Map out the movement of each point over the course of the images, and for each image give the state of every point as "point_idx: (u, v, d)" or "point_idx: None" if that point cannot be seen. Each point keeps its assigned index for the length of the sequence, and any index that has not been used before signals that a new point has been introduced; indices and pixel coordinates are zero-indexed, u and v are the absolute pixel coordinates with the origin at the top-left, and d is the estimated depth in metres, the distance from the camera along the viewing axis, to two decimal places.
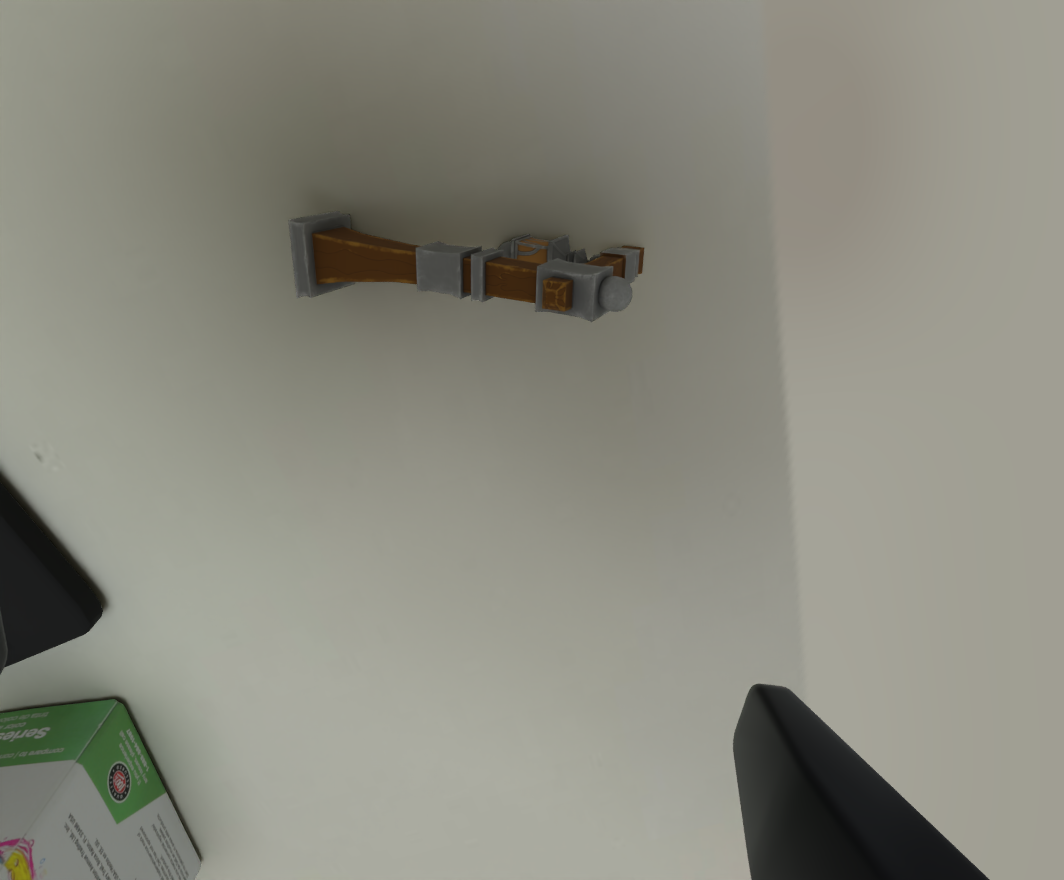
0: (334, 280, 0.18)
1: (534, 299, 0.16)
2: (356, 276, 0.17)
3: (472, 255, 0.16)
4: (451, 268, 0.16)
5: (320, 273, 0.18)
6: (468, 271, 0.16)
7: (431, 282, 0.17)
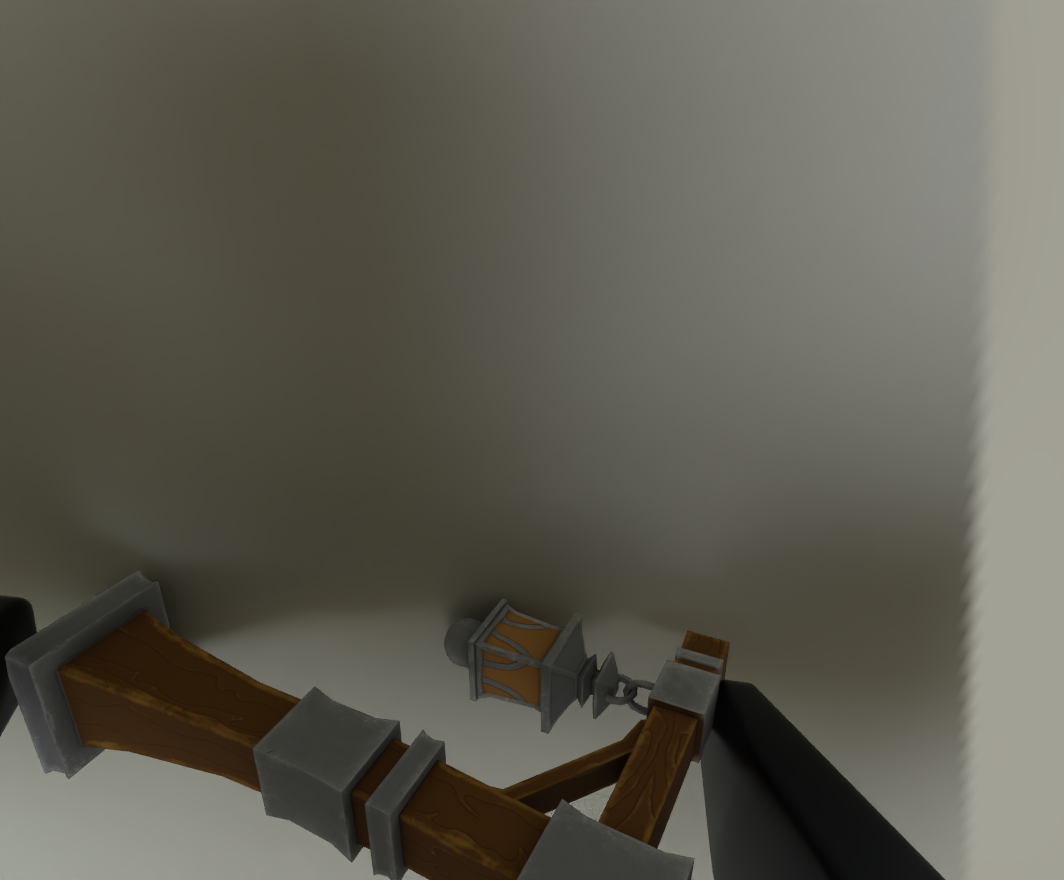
0: (115, 745, 0.09)
1: None
2: (152, 752, 0.08)
3: (368, 800, 0.07)
4: (328, 806, 0.07)
5: (85, 731, 0.09)
6: (364, 816, 0.07)
7: (292, 810, 0.08)
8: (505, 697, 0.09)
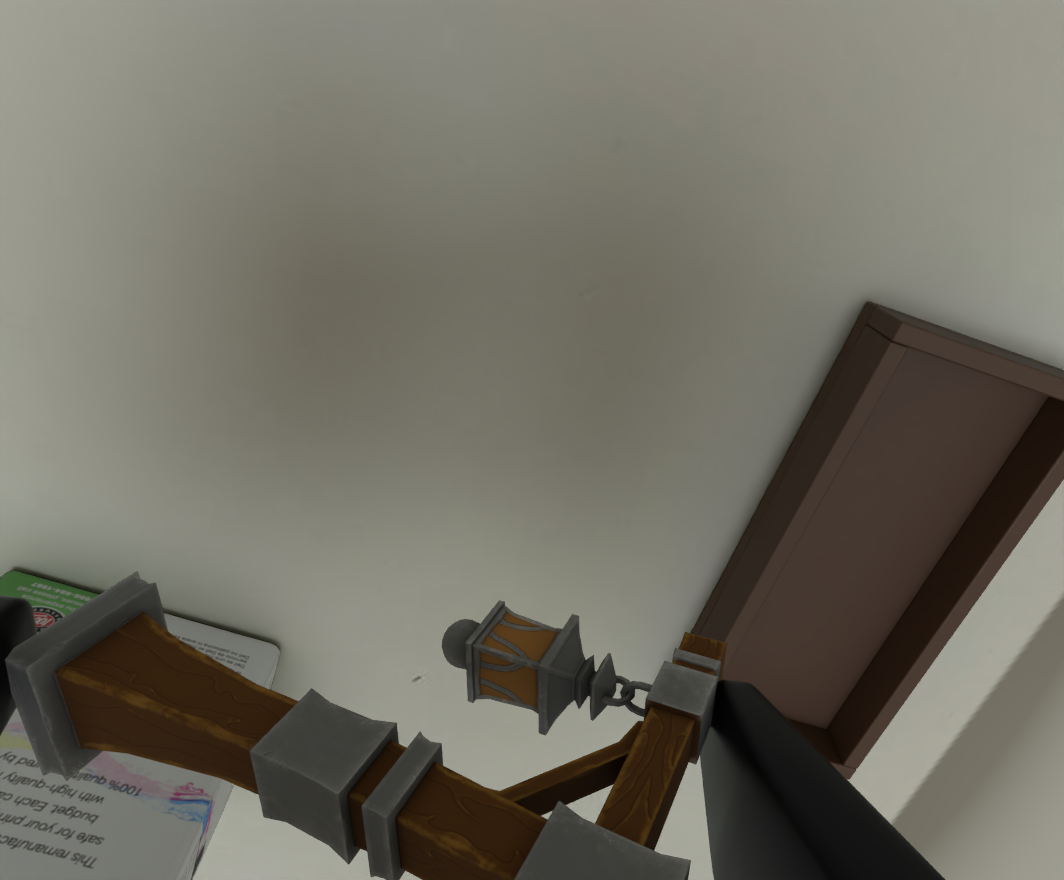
0: (112, 747, 0.09)
1: None
2: (149, 754, 0.09)
3: (365, 803, 0.07)
4: (324, 808, 0.07)
5: (83, 734, 0.09)
6: (361, 818, 0.07)
7: (289, 812, 0.08)
8: (502, 698, 0.09)
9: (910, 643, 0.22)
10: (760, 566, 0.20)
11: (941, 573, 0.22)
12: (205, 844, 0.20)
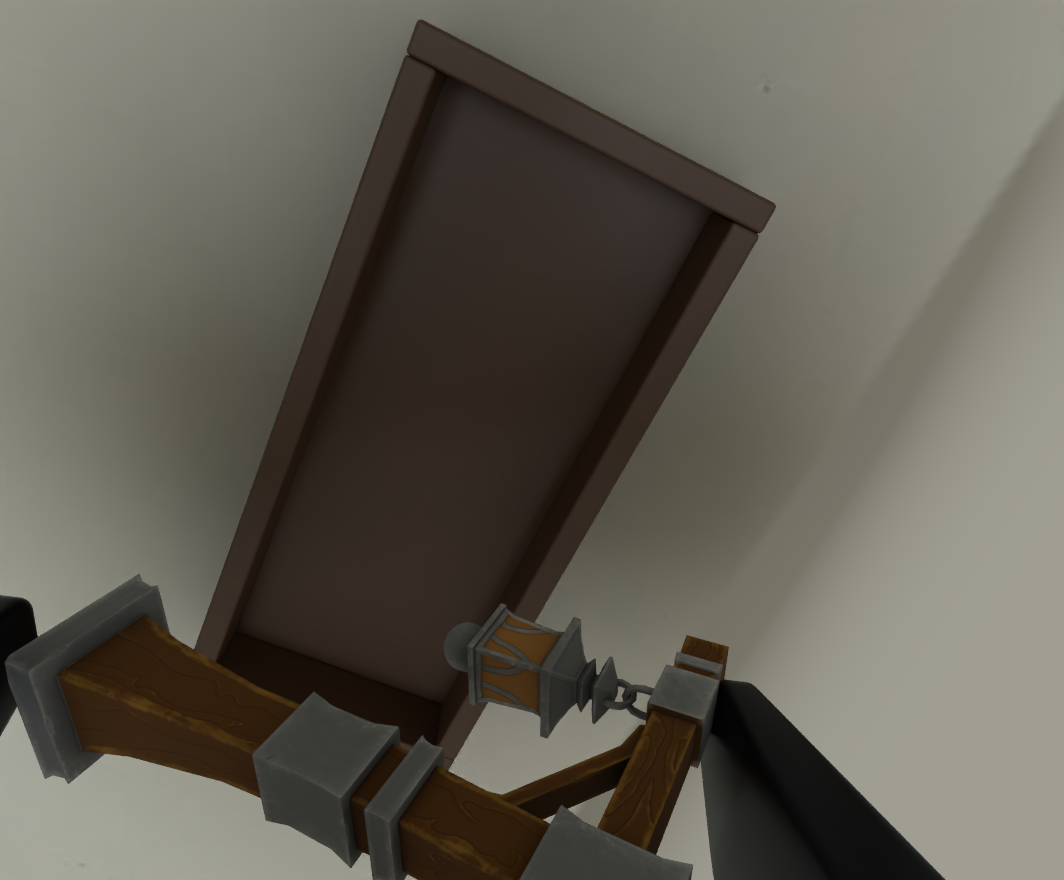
0: (114, 750, 0.09)
1: None
2: (151, 757, 0.09)
3: (368, 807, 0.07)
4: (327, 812, 0.07)
5: (85, 736, 0.09)
6: (364, 822, 0.07)
7: (291, 815, 0.08)
8: (504, 701, 0.09)
9: (520, 584, 0.15)
10: None
11: (567, 485, 0.15)
12: None
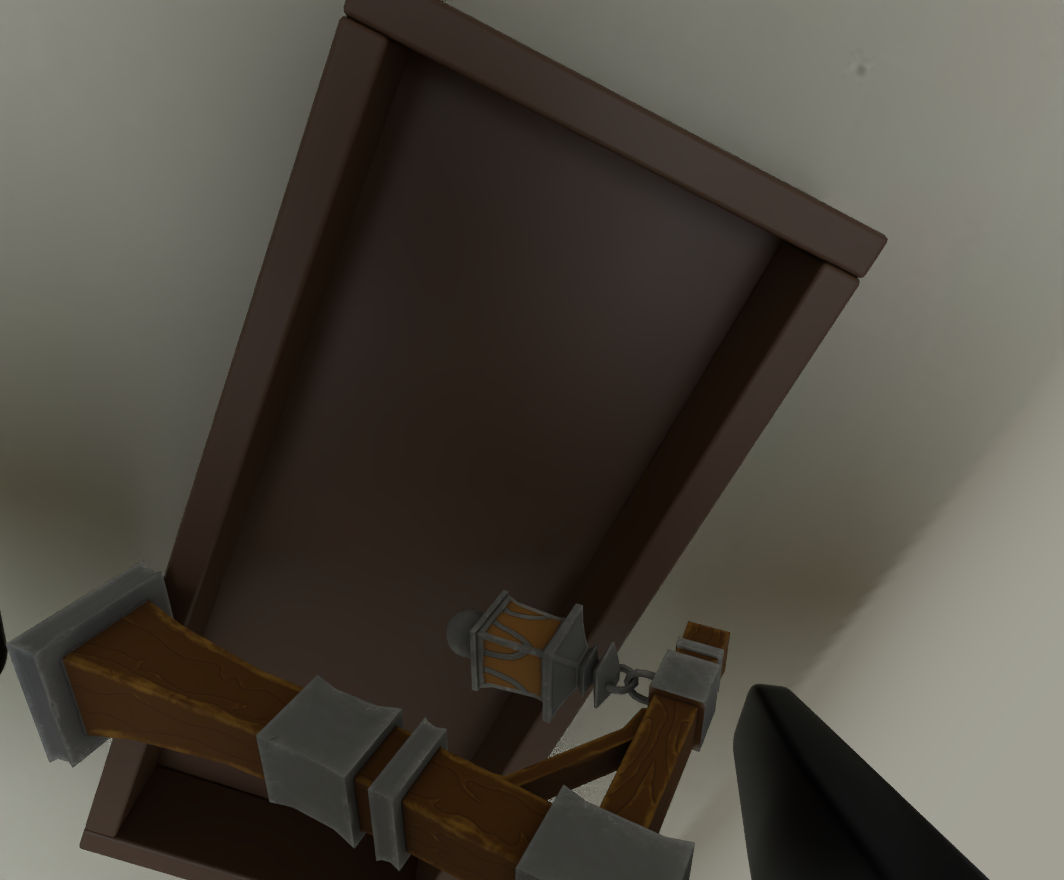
0: (119, 733, 0.09)
1: None
2: (155, 740, 0.09)
3: (372, 786, 0.07)
4: (331, 792, 0.07)
5: (89, 720, 0.09)
6: (367, 802, 0.07)
7: (295, 796, 0.08)
8: (506, 686, 0.09)
9: (517, 722, 0.12)
10: None
11: (578, 597, 0.11)
12: None
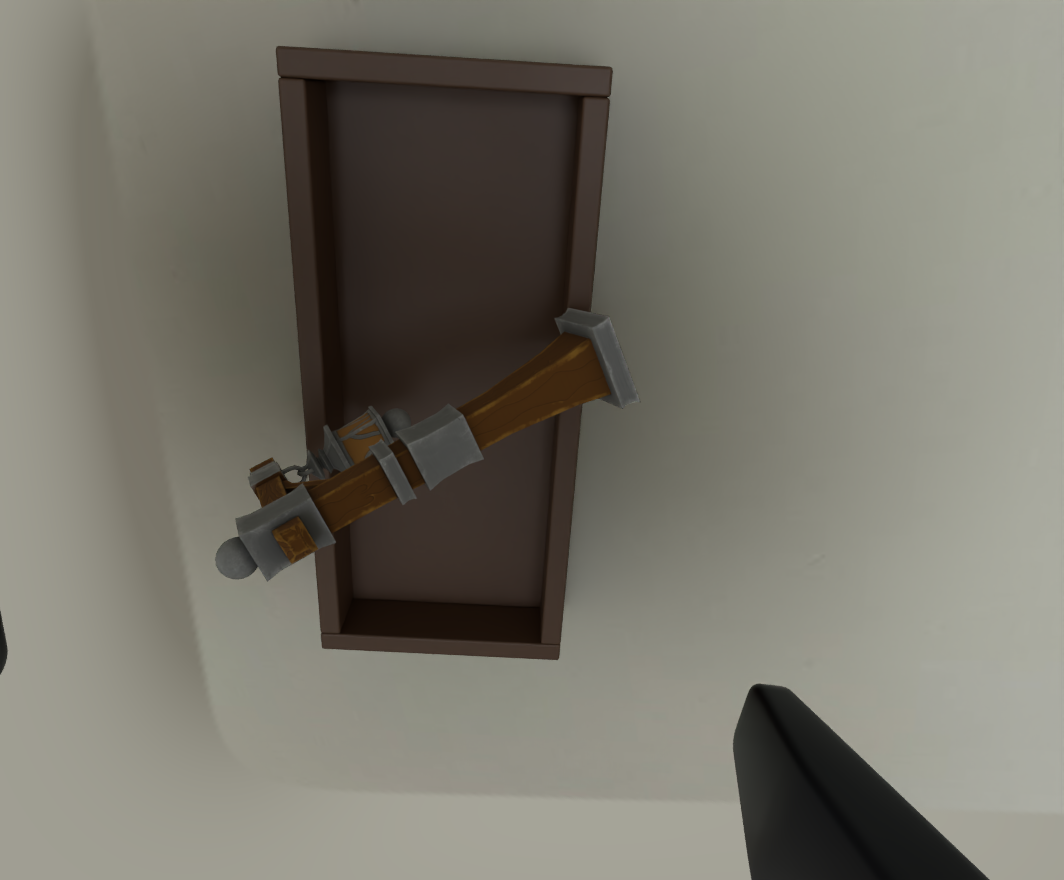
0: (569, 355, 0.14)
1: (320, 501, 0.13)
2: (543, 378, 0.14)
3: (415, 496, 0.13)
4: (432, 467, 0.13)
5: (589, 354, 0.14)
6: (412, 474, 0.13)
7: (450, 434, 0.13)
8: (362, 430, 0.15)
9: (327, 315, 0.16)
10: None
11: (338, 401, 0.17)
12: None
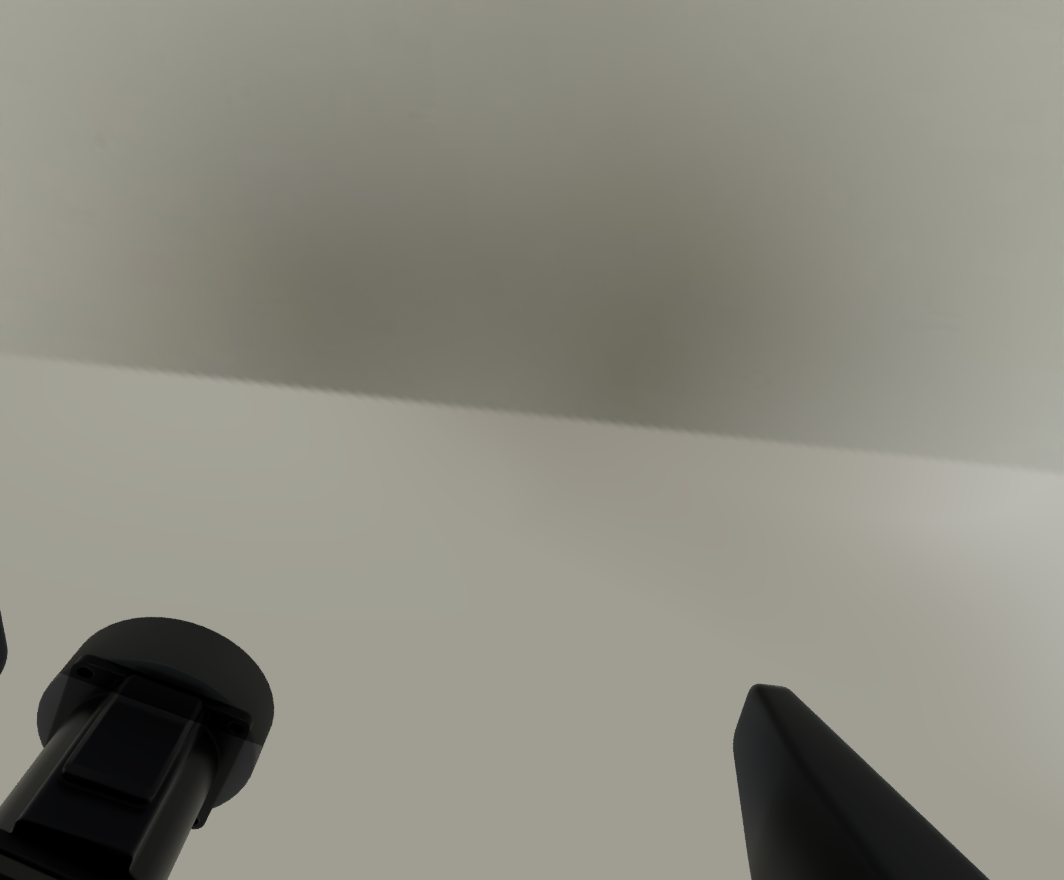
0: None
1: None
2: None
3: None
4: None
5: None
6: None
7: None
8: None
9: None
10: None
11: None
12: None
